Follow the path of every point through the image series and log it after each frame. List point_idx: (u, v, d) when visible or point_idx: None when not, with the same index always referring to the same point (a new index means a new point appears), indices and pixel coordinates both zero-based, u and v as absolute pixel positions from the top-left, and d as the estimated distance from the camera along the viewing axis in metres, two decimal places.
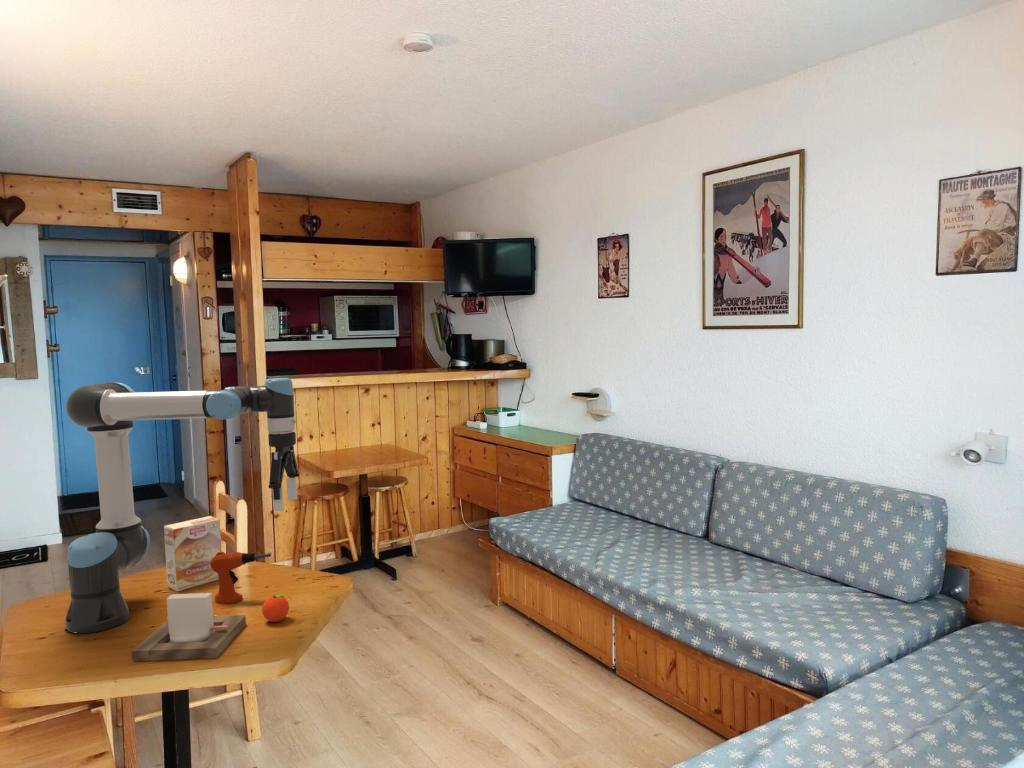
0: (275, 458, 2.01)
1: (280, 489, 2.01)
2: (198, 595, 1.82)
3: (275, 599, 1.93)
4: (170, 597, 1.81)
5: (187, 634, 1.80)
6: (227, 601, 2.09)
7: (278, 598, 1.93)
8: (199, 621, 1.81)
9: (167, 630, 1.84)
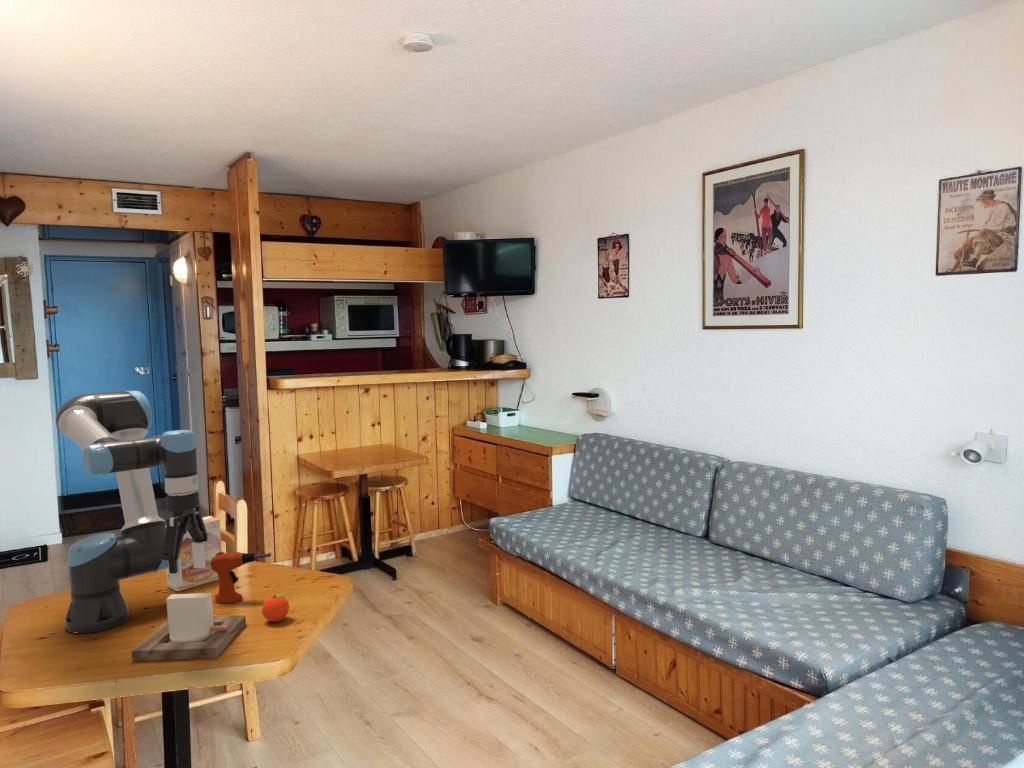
0: (171, 525, 1.73)
1: (177, 561, 1.74)
2: (198, 595, 1.82)
3: (275, 599, 1.93)
4: (170, 597, 1.81)
5: (187, 634, 1.80)
6: (227, 601, 2.09)
7: (278, 598, 1.93)
8: (199, 621, 1.81)
9: (167, 630, 1.84)
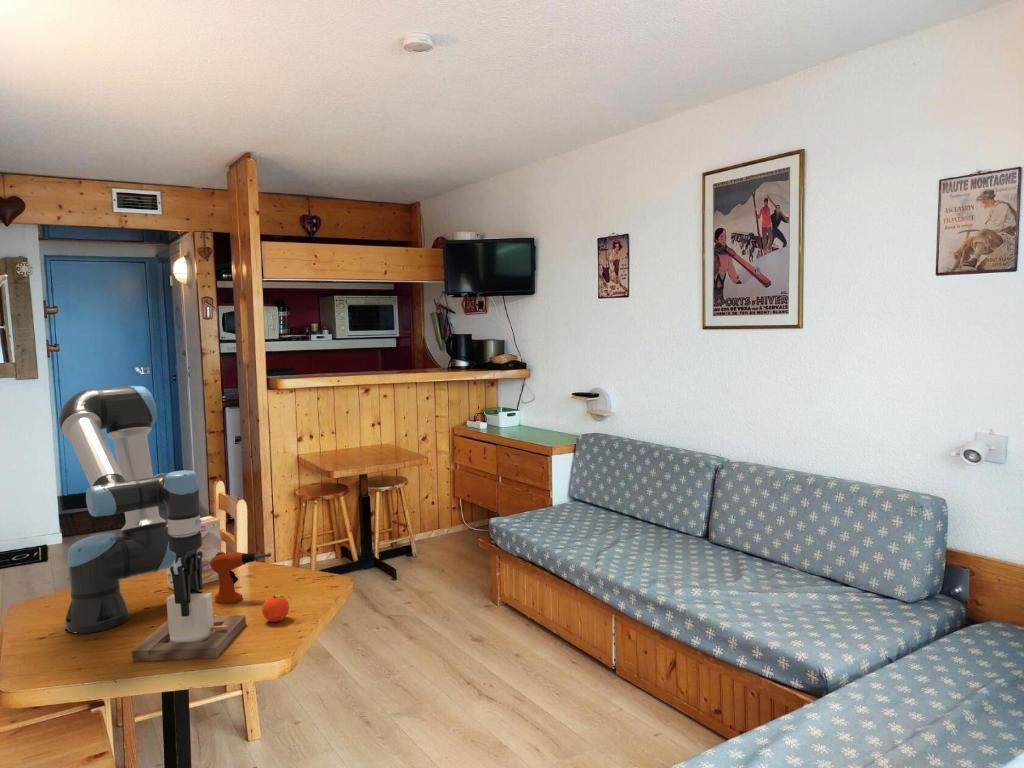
0: (176, 573, 1.75)
1: (189, 604, 1.80)
2: (198, 595, 1.82)
3: (275, 599, 1.93)
4: (170, 597, 1.81)
5: (187, 634, 1.80)
6: (227, 601, 2.09)
7: (278, 598, 1.93)
8: (199, 621, 1.81)
9: (167, 630, 1.84)
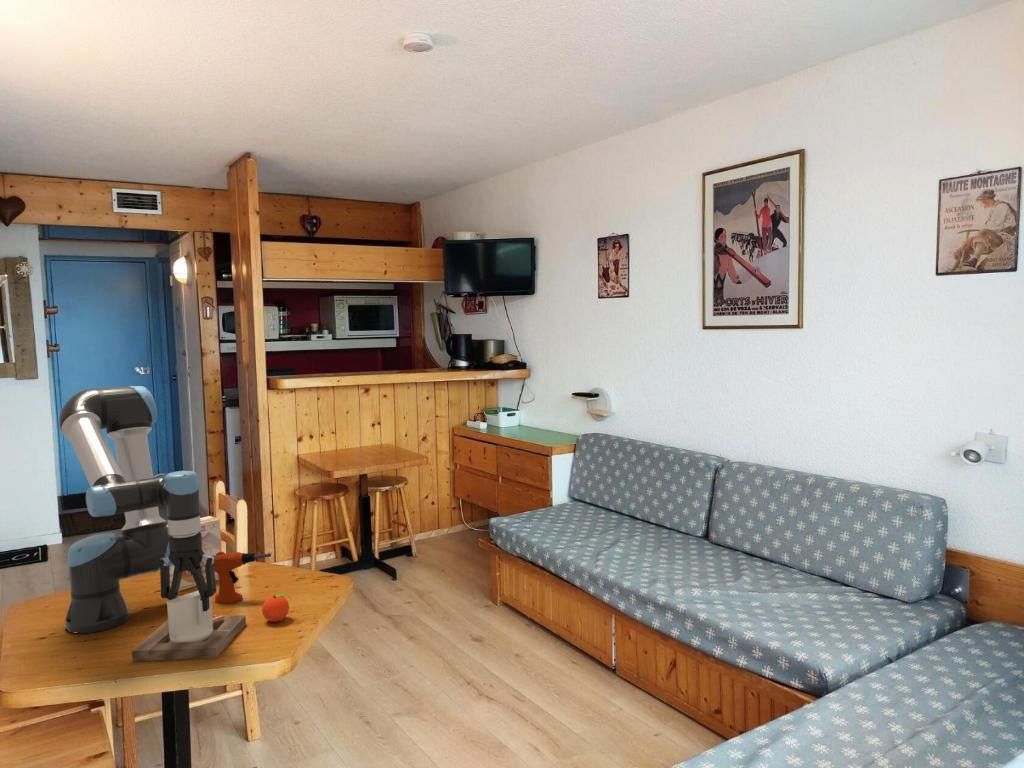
0: (211, 564, 1.81)
1: None
2: (196, 593, 1.84)
3: (275, 599, 1.93)
4: (174, 602, 1.78)
5: (196, 632, 1.81)
6: (227, 601, 2.09)
7: (278, 598, 1.93)
8: None
9: (167, 630, 1.84)
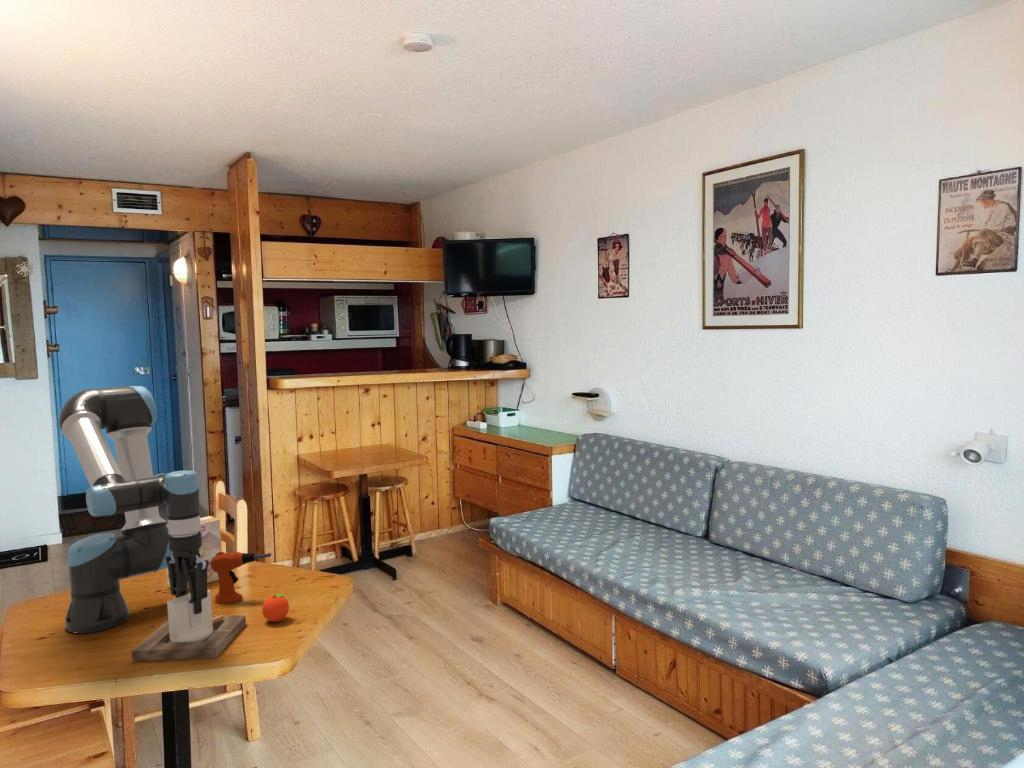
0: (203, 568, 1.78)
1: None
2: None
3: (275, 599, 1.93)
4: (174, 602, 1.78)
5: (196, 632, 1.81)
6: (227, 601, 2.09)
7: (278, 598, 1.93)
8: (204, 616, 1.84)
9: (167, 630, 1.84)
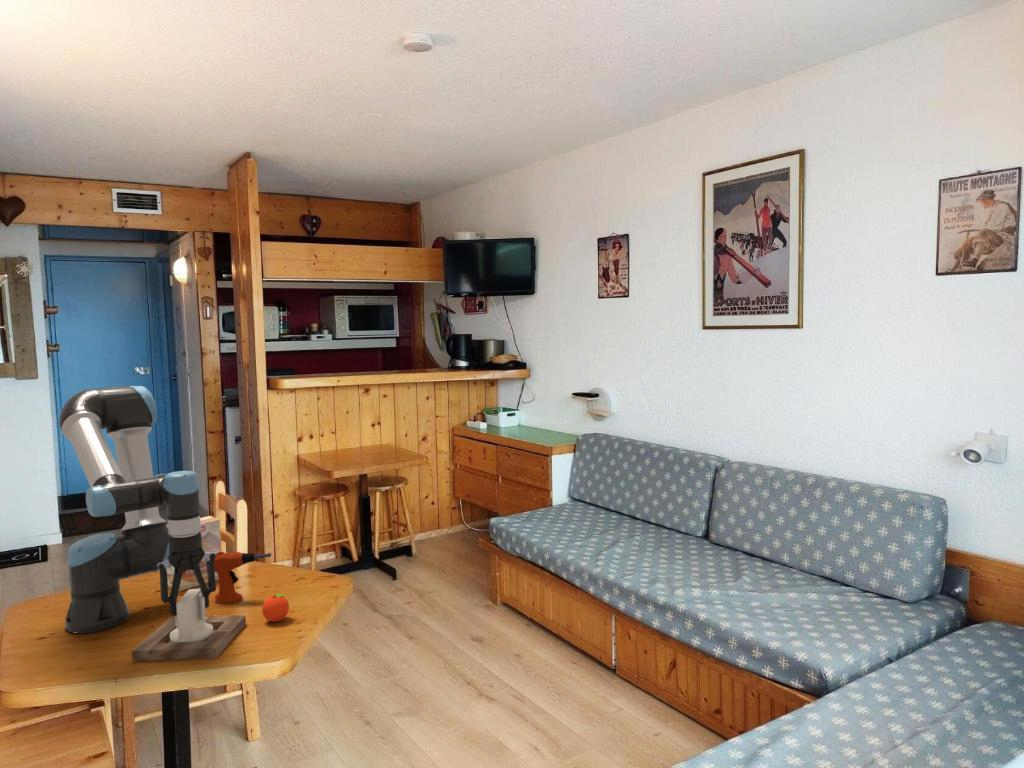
0: None
1: None
2: (190, 593, 1.84)
3: (275, 599, 1.93)
4: (186, 602, 1.78)
5: (201, 629, 1.83)
6: (227, 601, 2.09)
7: (278, 598, 1.93)
8: None
9: (167, 630, 1.84)
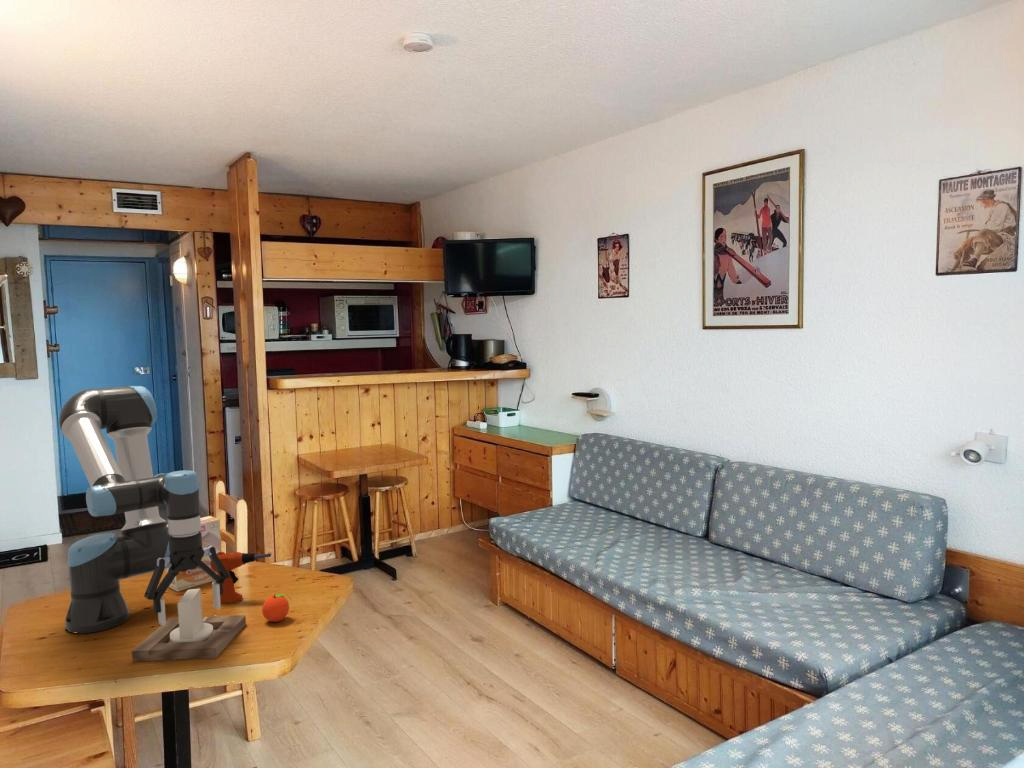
0: None
1: None
2: (189, 593, 1.84)
3: (275, 599, 1.93)
4: (187, 601, 1.78)
5: (201, 629, 1.83)
6: (227, 601, 2.09)
7: (278, 598, 1.93)
8: (199, 614, 1.85)
9: (167, 630, 1.84)
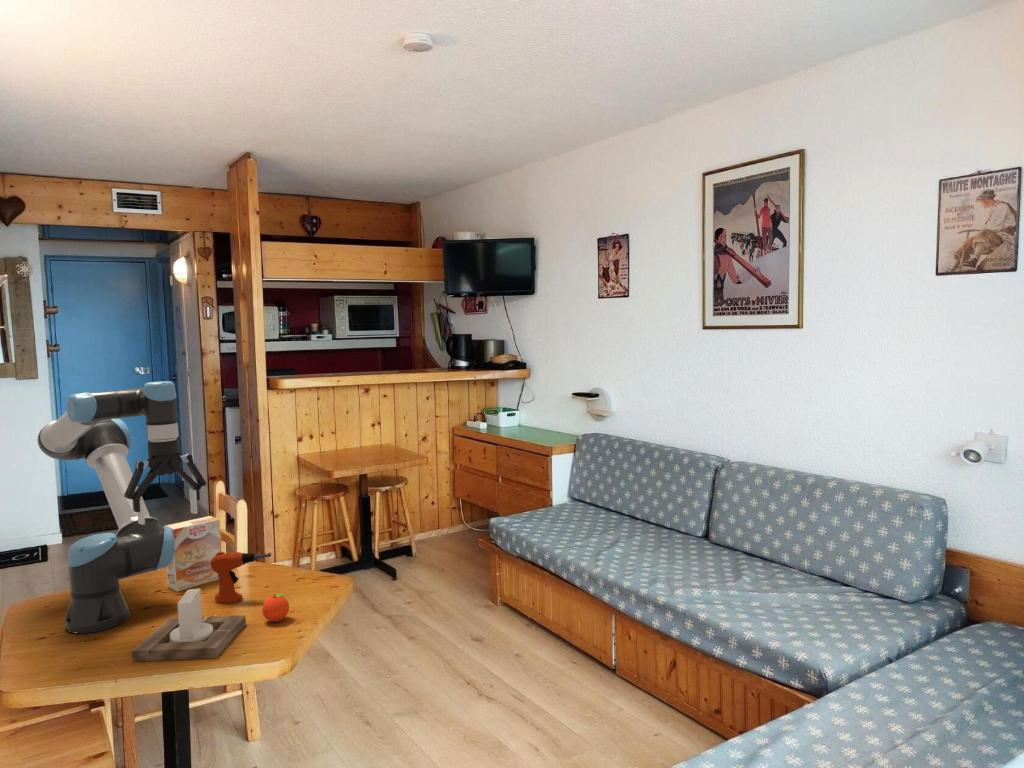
0: None
1: None
2: (189, 593, 1.84)
3: (275, 599, 1.93)
4: (187, 601, 1.78)
5: (201, 629, 1.83)
6: (227, 601, 2.09)
7: (278, 598, 1.93)
8: (199, 614, 1.85)
9: (167, 630, 1.84)
